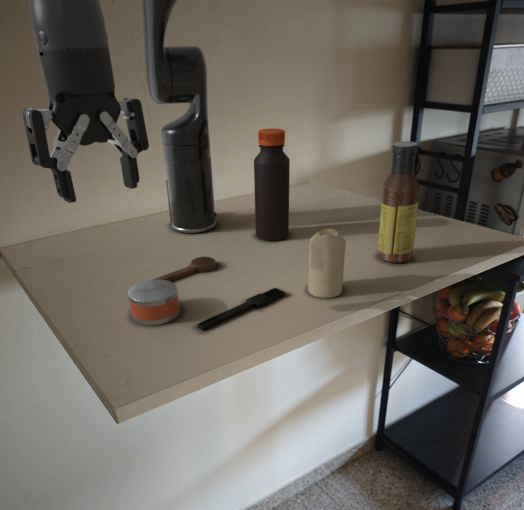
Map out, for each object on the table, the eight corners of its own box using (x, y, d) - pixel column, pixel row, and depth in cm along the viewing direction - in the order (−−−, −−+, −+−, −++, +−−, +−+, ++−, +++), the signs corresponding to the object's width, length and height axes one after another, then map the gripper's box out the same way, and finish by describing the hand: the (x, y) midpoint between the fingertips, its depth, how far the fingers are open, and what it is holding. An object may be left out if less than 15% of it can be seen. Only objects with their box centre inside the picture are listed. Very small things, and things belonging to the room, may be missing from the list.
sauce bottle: (414, 254, 93) (432, 140, 82) (407, 266, 88) (426, 148, 77) (379, 248, 95) (393, 138, 84) (371, 261, 91) (384, 145, 80)
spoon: (145, 295, 81) (144, 289, 80) (131, 286, 84) (130, 281, 83) (220, 267, 90) (220, 261, 89) (205, 260, 92) (205, 254, 92)
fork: (205, 332, 71) (205, 328, 71) (194, 326, 73) (194, 321, 72) (285, 295, 80) (286, 291, 80) (274, 290, 82) (274, 286, 81)
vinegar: (269, 244, 98) (268, 136, 87) (249, 234, 103) (245, 130, 92) (295, 236, 102) (297, 130, 91) (274, 227, 106) (274, 126, 95)
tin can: (123, 313, 76) (118, 289, 74) (163, 297, 80) (159, 275, 78) (148, 331, 72) (144, 306, 69) (189, 313, 76) (186, 289, 73)
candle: (340, 299, 78) (345, 239, 73) (305, 296, 80) (307, 236, 74) (343, 284, 83) (347, 226, 77) (310, 281, 84) (312, 224, 78)
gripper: (113, 43, 61) (134, 179, 70) (-7, 46, 53) (34, 200, 61) (147, 42, 56) (165, 188, 65) (21, 46, 48) (61, 212, 57)
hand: (101, 194), depth 63 cm, fingers open, 8 cm apart
